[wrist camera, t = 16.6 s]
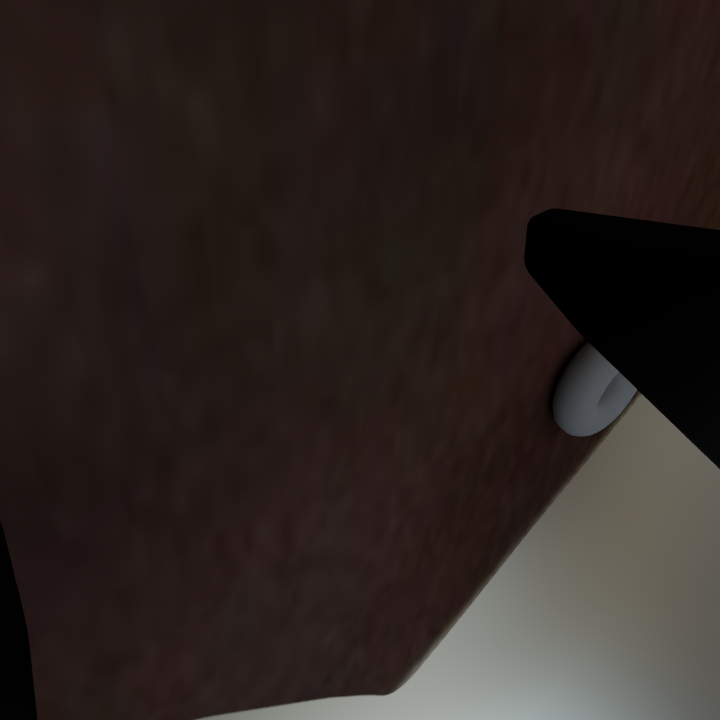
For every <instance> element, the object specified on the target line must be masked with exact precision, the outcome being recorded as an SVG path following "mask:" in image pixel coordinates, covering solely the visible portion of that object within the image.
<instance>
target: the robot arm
mask: <svg viewBox="0 0 720 720" xmlns="http://www.w3.org/2000/svg"><path fill="white" fill-rule="evenodd" d="M524 261H525V265H526V268H527V270H528V272H529V273H530V275H531V276H532V277H533V278H534V280H535V281H536V282H537V283H538V284H539V286H540V287H541V288H542V289H543V290H544V292H545V293H546V294H547V295H548V296H549V298H550V299H551V300H552V301H553V302H554V304H555V305H556V306H557V307H558V308H559V310H560V311H561V312H562V313H563V314H564V316H565V317H566V318H567V319H568V320H569V322H570V323H571V324H572V325H573V326H574V327H575V328H576V330H577V331H578V332H579V333H580V334H581V335H582V336H583V337H584V338H585V339H586V340H587V341H588V342H589V343H590V344H591V345H592V346H593V347H594V348H595V349H596V350H597V351H598V352H599V353H600V354H601V355H602V356H603V357H604V358H605V359H606V360H607V361H608V362H609V363H610V364H611V365H612V366H613V367H614V368H616V369H617V370H618V371H619V372H620V373H621V374H622V375H623V376H624V377H625V378H626V379H627V380H628V381H629V382H630V383H631V384H632V385H633V386H634V387H635V388H636V389H637V390H638V391H639V392H640V393H641V394H642V395H644V396H645V397H646V398H647V399H648V400H649V401H650V402H651V403H652V404H653V405H654V406H655V407H656V408H657V409H658V410H659V411H660V412H661V413H662V414H663V415H664V416H665V417H666V418H667V419H668V420H669V421H670V422H672V423H673V424H674V425H675V426H676V427H677V428H678V429H679V430H680V431H681V432H682V433H683V434H684V435H685V436H686V437H687V438H688V439H689V440H690V441H691V442H692V443H693V444H694V445H695V446H696V447H697V448H698V449H699V450H700V451H701V452H703V453H704V454H705V455H706V456H707V457H708V458H709V459H710V460H711V461H712V462H713V463H714V464H715V465H716V466H717V467H718V468H719V469H720V230H715V229H707V228H700V227H692V226H685V225H677V224H669V223H662V222H654V221H647V220H639V219H632V218H624V217H617V216H609V215H601V214H594V213H586V212H579V211H571V210H564V209H555V208H554V209H549V210H546V211H544V212H542V213H540V214H538V215H535V216H534V217H532V218H531V219H530V221H529V223H528V226H527V234H526V245H525V256H524ZM0 720H37V711H36V702H35V693H34V683H33V674H32V664H31V655H30V646H29V639H28V631H27V626H26V621H25V616H24V612H23V608H22V604H21V600H20V596H19V592H18V588H17V583H16V579H15V575H14V571H13V567H12V563H11V559H10V555H9V551H8V547H7V543H6V539H5V535H4V531H3V527H2V525H1V523H0Z"/></svg>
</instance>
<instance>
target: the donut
mask: <svg viewBox="0 0 720 720" xmlns="http://www.w3.org/2000/svg"><path fill="white" fill-rule="evenodd" d="M636 391H637V389H636V388H635V387H634V386H633V385H632V384H631V383H630V382H629V381H628V380H627V379H626V378H625V377H624V376H623V375H622V374H621V373H620V372H619V371H618V370H617V369H616V368H614V367H613V366H612V365H611V364H610V363H609V362H608V361H607V360H606V359H605V358H604V357H603V356H602V355H601V354H600V353H599V352H598V351H597V350H596V349H595V348H594V347H593V346H592V345H591V344H590V343H589V342H587V343H586V344H585V345H584V346H583V347H582V348H581V349H580V350H579V351H578V352H577V353H576V355H575V356H574V357H573V359H572V360H571V361H570V363H569V364H568V365H567V367H566V369H565V371H564V372H563V374H562V376H561V378H560V380H559V383H558V385H557V388H556V390H555V393H554V398H553V404H552V407H553V413H554V419H555V421H556V423H557V424H558V425H559V426H560V427H561V428H562V429H563V430H564V431H565V432H566V433H568V434H570V435H572V436H589V435H592V434H594V433H596V432H598V431H600V430H602V429H604V428H605V427H606V426H607V425H609V424H610V423H611V422H612V421H613V420H614V419H615V418H616V417H617V416H618V415H619V414H620V413H621V412H622V411H623V409H624V408H625V407H626V405H627V404H628V403H629V402H630V400H631V399H632V397H633V395H634V394H635V392H636Z"/></svg>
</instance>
